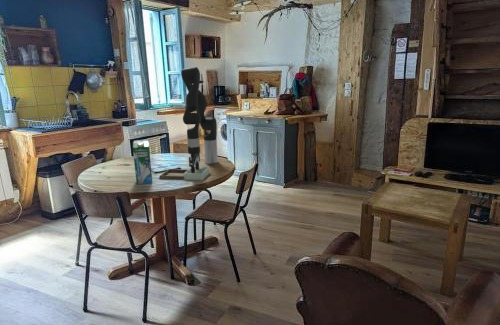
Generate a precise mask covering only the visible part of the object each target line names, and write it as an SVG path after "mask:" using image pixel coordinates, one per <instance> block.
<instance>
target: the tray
mask: <svg viewBox="0 0 500 325" xmlns="http://www.w3.org/2000/svg"><path fill="white" fill-rule="evenodd" d="M188 170H189V169H179V168H178V169H176V168H175V169H174V168H173V169H172V168H168V170H167V169H166V171H164V172H163V173H161V174H160V175H159V176H158V178H159V180H184V173H185V172H186V171H188Z"/></svg>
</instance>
